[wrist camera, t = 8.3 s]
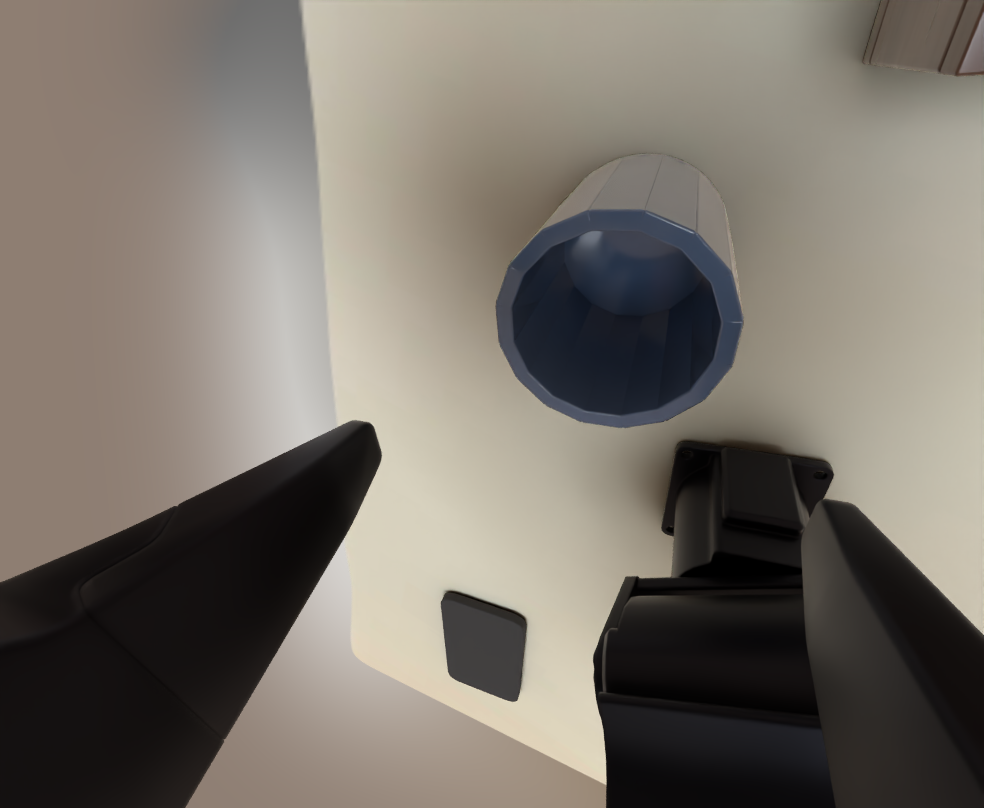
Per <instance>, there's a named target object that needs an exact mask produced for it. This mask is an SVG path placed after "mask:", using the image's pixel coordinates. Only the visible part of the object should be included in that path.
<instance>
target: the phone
mask: <svg viewBox="0 0 984 808" xmlns="http://www.w3.org/2000/svg"><path fill="white" fill-rule="evenodd" d="M441 610H442V620H443V629H444V638H445V647H446V657H447V666H448V673H449V675H450V676H451V677H452V678H454V679H455V680H457V681H459V682H461V683H464V684H467V685H469V686H472V687H474V688H477V689H479V690H482V691H484V692H487V693H489V694H492V695H494V696H497V697H499V698H502V699H505V700H507V701H512V702H515V701H517V700H518V697H519V693H520V686H521V678H522V667H523V657H524V647H525V637H526V623H525V621H524V620H523V619H522V618H521V617H520V616H518V615H516V614H514V613H511V612H508V611H505V610H502V609H499V608H497V607H494V606H491V605H488V604H485V603H482V602H479V601H476V600H473V599H470V598H467V597H464V596H461V595H458V594H455V593H446V594H445V595H444V597H443V599H442V601H441Z"/></svg>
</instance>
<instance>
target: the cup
mask: <svg viewBox="0 0 984 808" xmlns="http://www.w3.org/2000/svg"><path fill="white" fill-rule="evenodd" d="M496 316H497V327H498V339H499V343H500V347H501V349H502V351H503V353H504V354H505V356H506V358H507V360H508V362H509V364H510V366H511V368H512V370H513V372H514V374H515V376H516V377H517V379H518V380H519V381H520V382H521V383H522V384H523V385H524V386H525V387H526V388H527V389H529V390H530V391H531V392H532V393H533V394H534V395H535V396H536V397H537V398H538V399H539V400H540V401H541V402H542V403H543V404H546V406H548V407H550V408H552V409H554V410H556V411H558V412H561V413H563V414H565V415H567V416H569V417H571V418H573V419H575V420H577V421H580V422H583V423H589V424H596V425H603V426H610V427H617V428H628V427H634V426H640V425H646V424H652V423H658V422H664V421H665V420H666V421H667V420H669V419H671V418H672V417H674V416H676V415H678V414H680V413H682V412H684V411H685V410H687V409H689V408H691V407H693V406H695V405H696V404H698V403H700V402H702V401H703V400H705V399H706V398H707V397H708V395H709V394H710V393H711V392H712V390H713V389H714V388H715V387H716V386H717V384H718V383H719V382H720V381H721V380H722V378H723V377H724V376H725V375H726V373H727V372H728V371H729V370H730V369H731V367H732V365H733V363H734V360H735V356H736V352H737V348H738V344H739V340H740V336H741V332H742V328H743V324H744V320H743V319H744V315H743V309H742V302H741V296H740V289H739V282H738V276H737V269H736V263H735V256H734V249H733V243H732V236H731V231H730V227H729V222H728V218H727V212H726V209H725V206H724V201H723V200H722V197H721V196H720V194H719V192H718V190H717V189H716V188H715V186H714V185H713V184H712V182H711V181H710V180H709V179H708V178H707V177H706V176H705V175H704V174H703V173H702V172H701V171H699V170H698V169H697V168H695V167H694V166H693V165H691V164H689V163H687V162H685V161H683V160H681V159H678V158H675V157H672V156H668V155H662V154H653V153H643V154H634V155H629V156H625V157H621V158H618V159H616V160H613V161H611V162H608V163H607V164H605V165H603V166H601V167H599V168H598V169H596V170H595V171H594V172H591V173H590V174H589V175H588V176H587V177H586V178H585V179H584V180H583V181H582V182H581V183H580V184H579V185H578V186H577V187H576V188H575V190H574V191H573V192H572V193H571V194H570V195H569V196H568V197H567V198H566V199H565V200H564V202H563V203H562V204H561V205H560V206H559V207H558V208H557V210H556V211H555V212H554V213H553V214H552V215H551V216H550V218H549V219H548V220H547V221H546V222H545V223H544V224H543V225H542V227H541V228H540V229H539V230H538V231H537V232H536V233H535V235H534V236H533V237H532V238H531V239H530V240H529V241H528V243H527V244H526V245H525V246H524V247H523V248H522V249H521V251H520V252H519V253H518V254H517V255H516V256H515V257H514V259H513V260H512V261H511V262H510V264H509V265H508V268H507V271H506V274H505V277H504V280H503V283H502V286H501V289H500V292H499V295H498V297H497V300H496Z"/></svg>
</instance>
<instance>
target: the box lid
mask: <svg viewBox="0 0 984 808" xmlns="http://www.w3.org/2000/svg"><path fill="white" fill-rule="evenodd" d="M940 72H941V74H944V75H950V76H956V77H959V76H973V75H984V0H968V1H967V4H966V6H965V9H964V11H963V14H962V17H961V19H960V22H959V24H958V27H957V29H956V32H955V35H954V37H953V40H952V42H951V45H950V47H949V50H948V53H947V55H946V58H945V60H944V63H943V65H942V68H941V71H940Z"/></svg>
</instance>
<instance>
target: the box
mask: <svg viewBox="0 0 984 808" xmlns="http://www.w3.org/2000/svg"><path fill="white" fill-rule="evenodd" d="M967 1H968V0H881V3H880V6H879V9H878V13H877V16H876V19H875V23H874V26H873V29H872V32H871V36H870V39H869V42H868V46H867V49H866V52H865V55H864V59H863V63H864V64H868V65H876V66H884V67H892V68H900V69H907V70H915V71H923V72H931V73H938V74H941V72H940V71H941V68H942V65H943V63H944V60H945V58H946V55H947V53H948V50H949V47H950V45H951V42H952V40H953V37H954V35H955V32H956V29H957V27H958V24H959V22H960V19H961V17H962V14H963V11H964V9H965V6H966V4H967Z"/></svg>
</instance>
